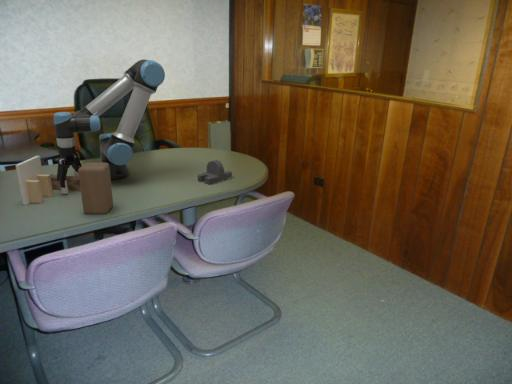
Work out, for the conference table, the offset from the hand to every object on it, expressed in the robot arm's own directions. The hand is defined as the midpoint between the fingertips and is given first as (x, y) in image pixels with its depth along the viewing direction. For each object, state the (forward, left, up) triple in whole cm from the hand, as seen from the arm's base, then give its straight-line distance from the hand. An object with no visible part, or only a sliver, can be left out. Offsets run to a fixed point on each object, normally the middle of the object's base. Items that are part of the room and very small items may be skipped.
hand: (72, 188), depth 185 cm
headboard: (+7, +14, 0) cm, 16 cm away
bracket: (-66, -27, -1) cm, 71 cm away
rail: (+2, 0, 0) cm, 2 cm away
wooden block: (-23, +22, 0) cm, 32 cm away
